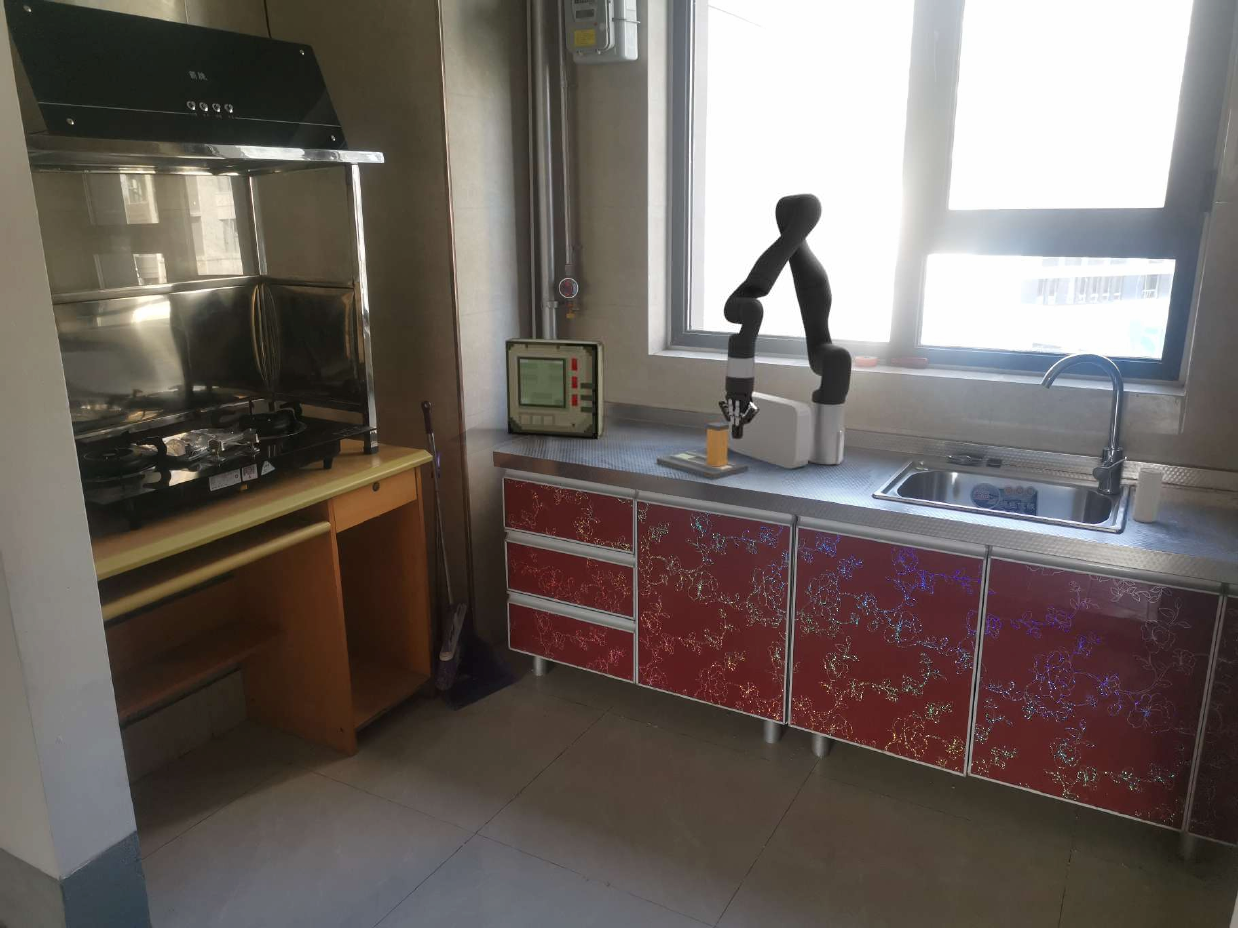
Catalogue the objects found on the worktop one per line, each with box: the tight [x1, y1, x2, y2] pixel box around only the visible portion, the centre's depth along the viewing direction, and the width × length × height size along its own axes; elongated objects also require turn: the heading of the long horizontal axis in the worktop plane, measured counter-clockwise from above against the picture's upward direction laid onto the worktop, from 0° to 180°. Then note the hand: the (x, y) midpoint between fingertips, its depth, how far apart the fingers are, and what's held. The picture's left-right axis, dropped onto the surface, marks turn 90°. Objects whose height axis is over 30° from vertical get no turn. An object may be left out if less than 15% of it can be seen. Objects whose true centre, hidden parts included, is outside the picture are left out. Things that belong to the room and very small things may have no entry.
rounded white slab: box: [728, 391, 811, 470], centre depth 263 cm, size 29×8×18 cm, turn 33°
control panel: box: [505, 337, 605, 440], centre depth 290 cm, size 30×8×30 cm, turn 76°
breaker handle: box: [706, 421, 729, 467], centre depth 249 cm, size 4×4×11 cm
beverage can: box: [1131, 467, 1164, 524], centre depth 210 cm, size 5×5×12 cm
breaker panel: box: [656, 450, 749, 480], centre depth 255 cm, size 22×14×2 cm, turn 41°
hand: (736, 438), depth 243 cm, fingers closed
